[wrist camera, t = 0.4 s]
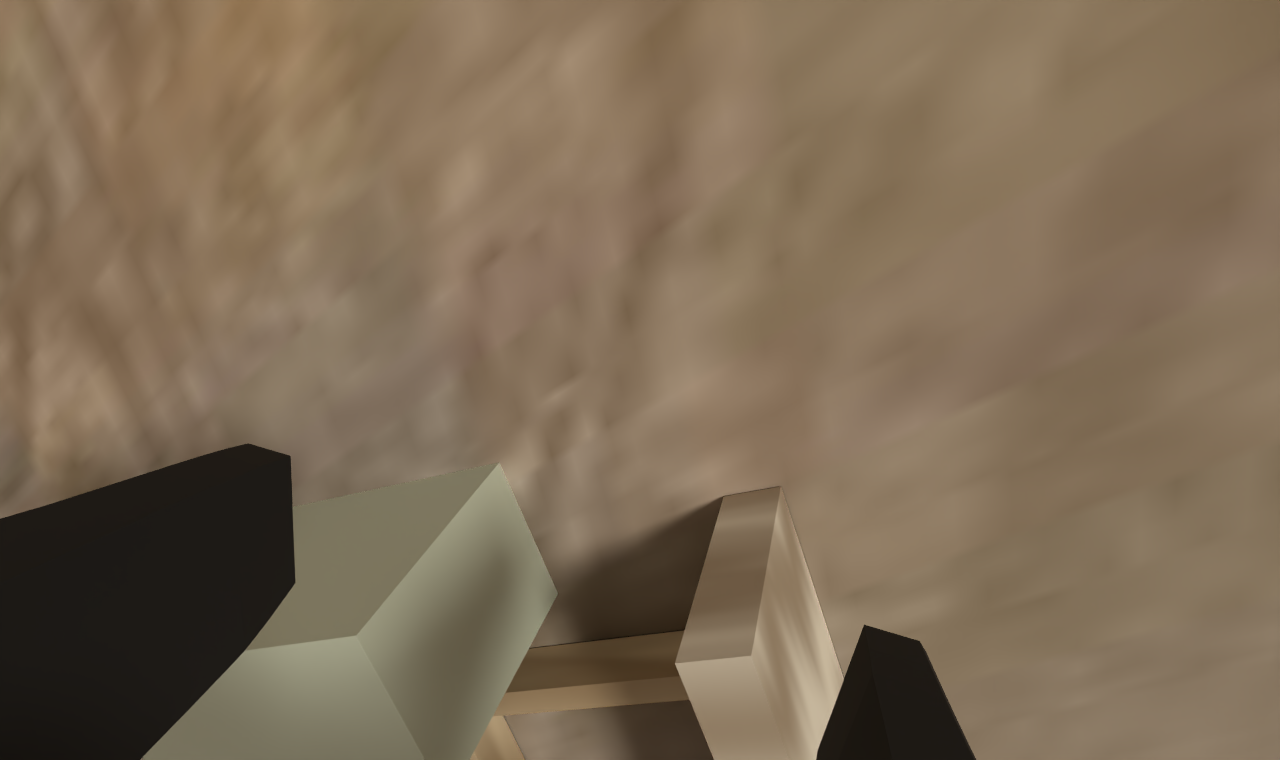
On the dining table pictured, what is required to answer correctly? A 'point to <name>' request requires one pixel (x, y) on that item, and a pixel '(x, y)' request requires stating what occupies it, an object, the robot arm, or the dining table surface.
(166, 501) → the robot arm
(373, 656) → the cabinet block
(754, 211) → the dining table surface
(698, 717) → the wall board
